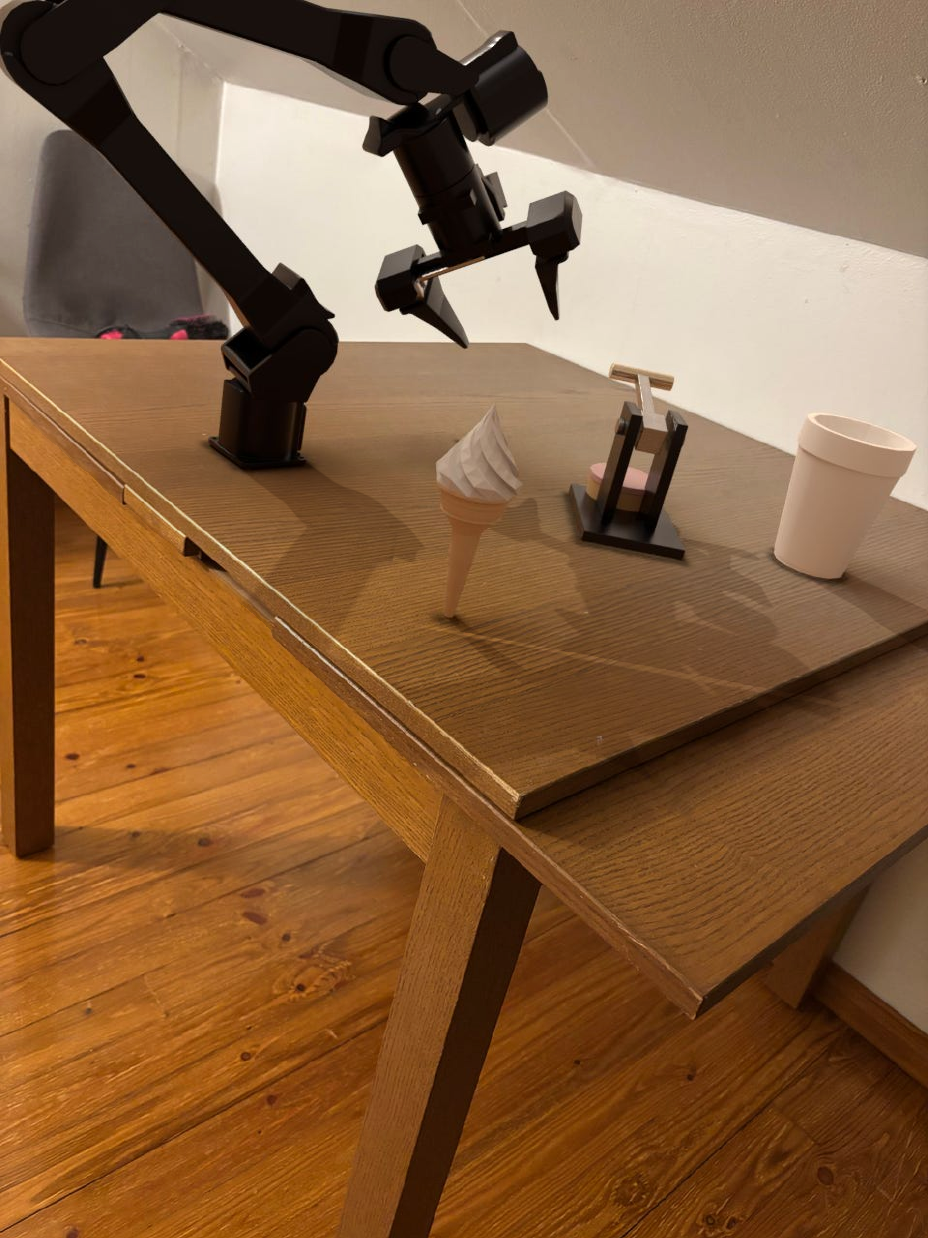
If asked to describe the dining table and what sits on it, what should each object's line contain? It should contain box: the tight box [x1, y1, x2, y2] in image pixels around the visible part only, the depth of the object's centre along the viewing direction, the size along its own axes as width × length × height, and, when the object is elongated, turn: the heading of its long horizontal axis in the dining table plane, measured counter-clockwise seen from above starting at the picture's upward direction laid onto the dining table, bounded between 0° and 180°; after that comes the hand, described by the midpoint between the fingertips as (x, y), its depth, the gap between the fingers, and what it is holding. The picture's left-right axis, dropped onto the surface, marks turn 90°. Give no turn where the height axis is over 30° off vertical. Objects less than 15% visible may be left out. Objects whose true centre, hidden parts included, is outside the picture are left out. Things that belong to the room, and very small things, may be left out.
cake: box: [585, 462, 649, 511], centre depth 93 cm, size 7×7×3 cm
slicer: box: [568, 400, 689, 561], centre depth 87 cm, size 12×9×11 cm
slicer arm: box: [608, 362, 675, 455], centre depth 89 cm, size 12×6×2 cm, turn 0°
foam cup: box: [773, 412, 918, 580], centre depth 88 cm, size 10×9×13 cm
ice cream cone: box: [435, 403, 523, 619], centre depth 63 cm, size 6×6×15 cm
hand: (511, 332), depth 92 cm, fingers open, 9 cm apart
